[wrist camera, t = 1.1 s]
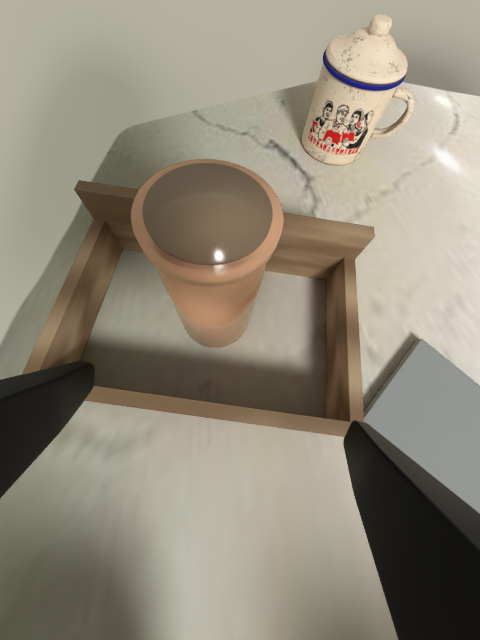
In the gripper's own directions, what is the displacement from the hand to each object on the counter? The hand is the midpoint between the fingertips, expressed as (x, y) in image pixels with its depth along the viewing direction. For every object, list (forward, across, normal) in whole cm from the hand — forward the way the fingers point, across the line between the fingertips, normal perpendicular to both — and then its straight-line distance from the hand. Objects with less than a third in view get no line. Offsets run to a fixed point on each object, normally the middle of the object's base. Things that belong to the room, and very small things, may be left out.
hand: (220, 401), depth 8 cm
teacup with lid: (+34, -9, -20) cm, 40 cm away
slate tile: (+11, -19, +6) cm, 23 cm away
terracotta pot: (+15, +2, +2) cm, 15 cm away
